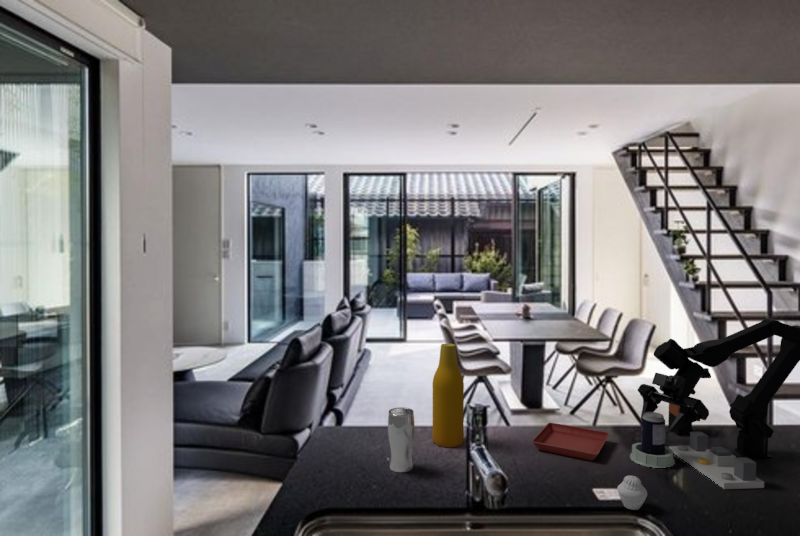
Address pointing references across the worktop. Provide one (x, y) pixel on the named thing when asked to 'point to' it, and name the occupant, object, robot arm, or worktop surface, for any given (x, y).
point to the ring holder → (652, 457)
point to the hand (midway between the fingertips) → (655, 425)
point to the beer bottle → (448, 400)
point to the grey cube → (720, 451)
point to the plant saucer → (570, 441)
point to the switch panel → (718, 464)
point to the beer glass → (401, 438)
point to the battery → (672, 415)
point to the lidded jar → (632, 492)
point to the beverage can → (653, 433)
